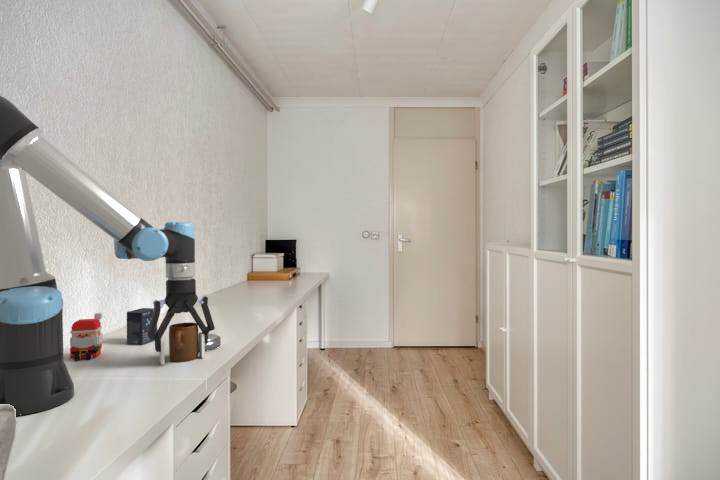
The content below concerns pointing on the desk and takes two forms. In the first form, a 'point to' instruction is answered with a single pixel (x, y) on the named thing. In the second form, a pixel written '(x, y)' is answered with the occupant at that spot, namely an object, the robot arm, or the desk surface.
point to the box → (139, 326)
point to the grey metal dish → (212, 342)
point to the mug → (183, 342)
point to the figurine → (86, 338)
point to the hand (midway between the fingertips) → (182, 359)
